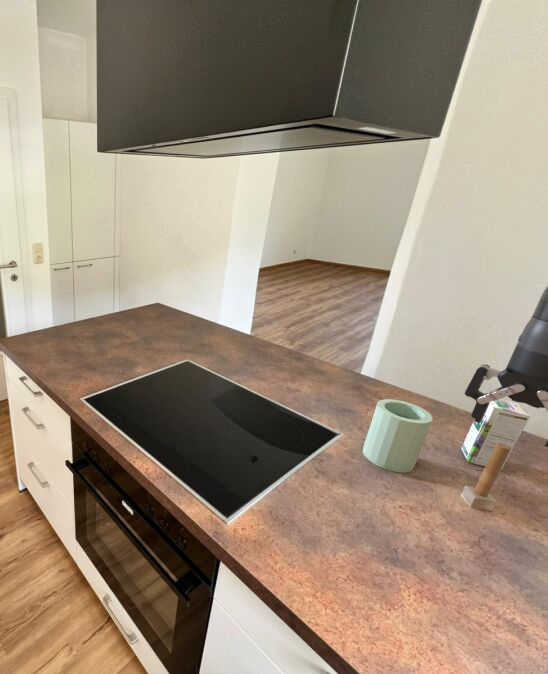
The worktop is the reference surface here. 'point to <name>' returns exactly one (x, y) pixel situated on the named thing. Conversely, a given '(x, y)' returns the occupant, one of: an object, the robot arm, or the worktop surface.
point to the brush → (486, 480)
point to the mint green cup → (396, 435)
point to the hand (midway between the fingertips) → (511, 432)
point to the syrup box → (494, 431)
